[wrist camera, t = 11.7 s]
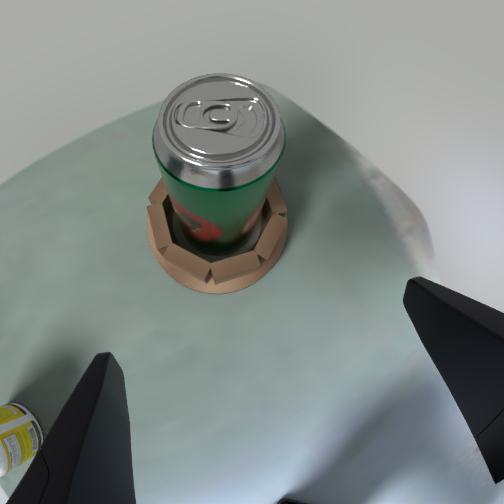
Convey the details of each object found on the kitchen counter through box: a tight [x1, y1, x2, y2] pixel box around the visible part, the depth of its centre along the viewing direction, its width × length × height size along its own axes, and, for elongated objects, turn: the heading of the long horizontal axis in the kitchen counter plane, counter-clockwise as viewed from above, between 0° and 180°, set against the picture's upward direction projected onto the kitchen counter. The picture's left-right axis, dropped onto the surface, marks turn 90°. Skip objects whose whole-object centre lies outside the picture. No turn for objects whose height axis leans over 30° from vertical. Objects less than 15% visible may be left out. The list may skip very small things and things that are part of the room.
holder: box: [147, 176, 288, 294], centre depth 21 cm, size 10×10×4 cm
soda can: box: [152, 74, 286, 256], centre depth 16 cm, size 5×5×12 cm
